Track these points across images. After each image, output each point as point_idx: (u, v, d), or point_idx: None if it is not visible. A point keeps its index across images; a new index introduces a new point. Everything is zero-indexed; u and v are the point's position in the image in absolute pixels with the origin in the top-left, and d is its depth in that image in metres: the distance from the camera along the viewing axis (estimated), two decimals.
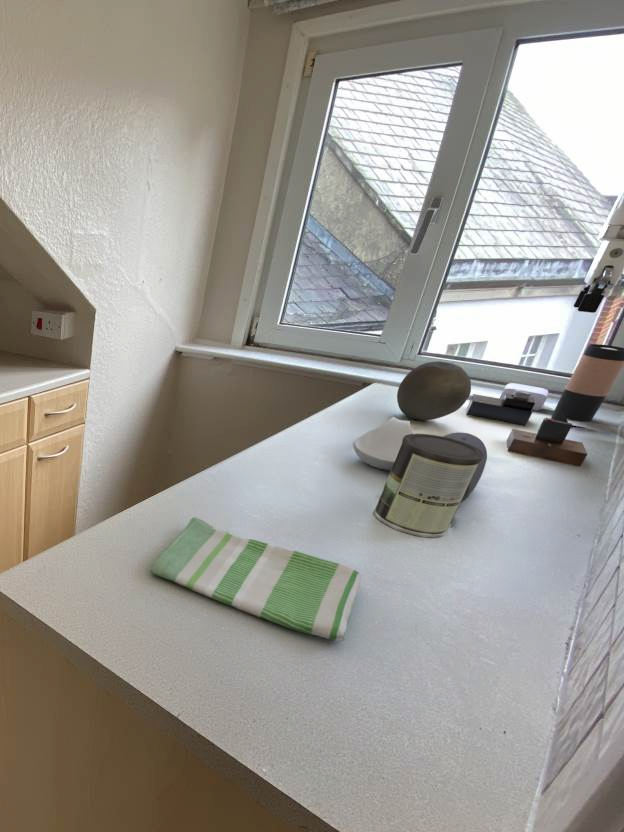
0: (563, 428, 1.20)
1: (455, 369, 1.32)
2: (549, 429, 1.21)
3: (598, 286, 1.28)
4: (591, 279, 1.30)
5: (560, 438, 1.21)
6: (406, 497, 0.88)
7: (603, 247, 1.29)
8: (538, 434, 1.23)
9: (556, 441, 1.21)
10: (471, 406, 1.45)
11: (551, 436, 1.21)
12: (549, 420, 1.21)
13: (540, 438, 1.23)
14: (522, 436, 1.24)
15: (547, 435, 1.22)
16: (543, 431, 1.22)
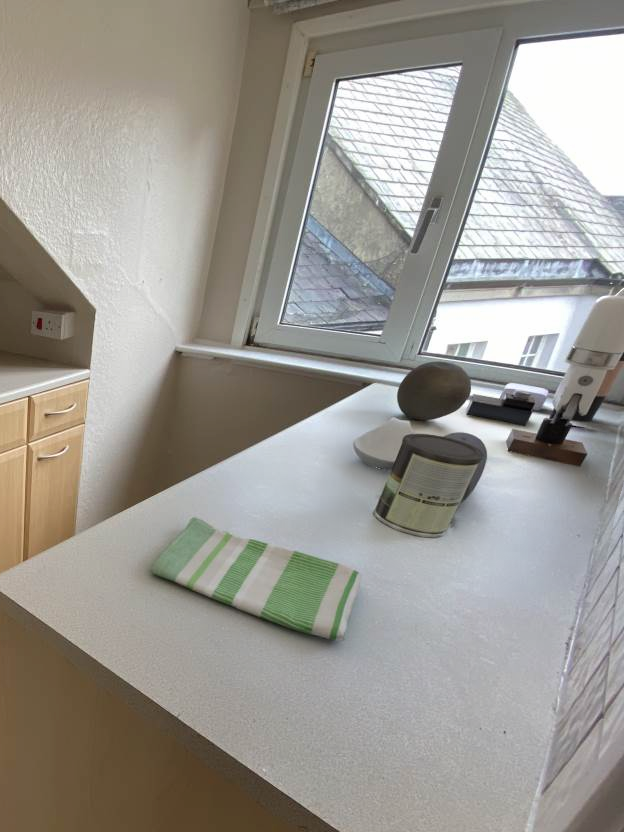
0: None
1: (455, 369, 1.32)
2: None
3: (560, 419, 1.17)
4: (558, 406, 1.16)
5: None
6: (406, 497, 0.88)
7: (571, 372, 1.15)
8: (538, 434, 1.23)
9: None
10: (471, 406, 1.45)
11: None
12: (549, 420, 1.21)
13: None
14: (522, 436, 1.24)
15: None
16: None
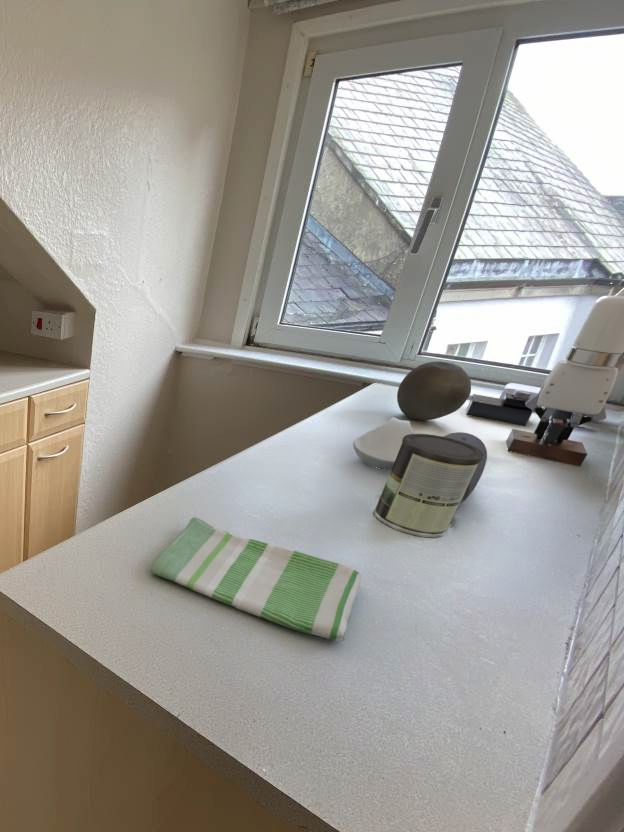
0: None
1: (455, 369, 1.32)
2: None
3: None
4: (599, 410, 1.15)
5: None
6: (406, 497, 0.88)
7: (604, 376, 1.12)
8: (555, 439, 1.20)
9: None
10: (471, 406, 1.45)
11: None
12: None
13: (554, 441, 1.21)
14: (522, 436, 1.24)
15: None
16: (558, 434, 1.20)
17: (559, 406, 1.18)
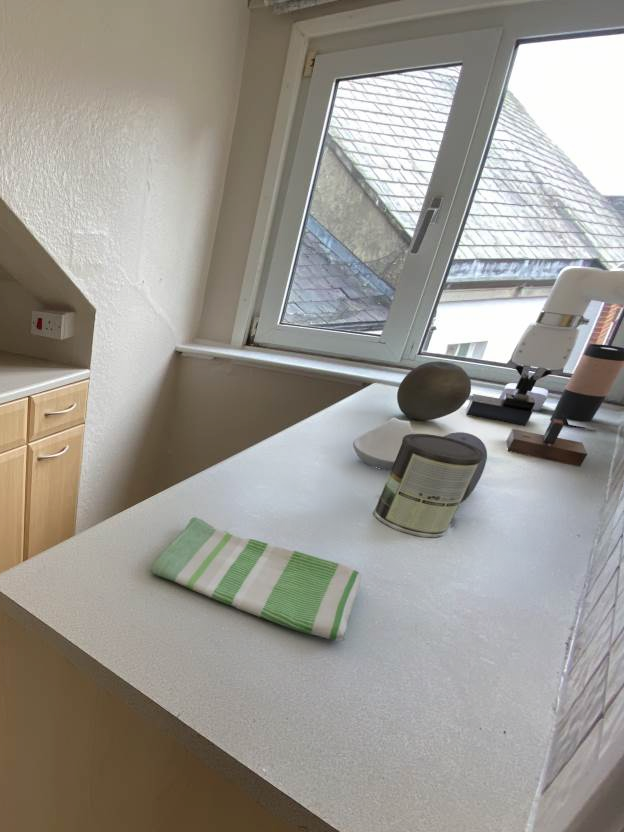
0: None
1: (455, 369, 1.32)
2: None
3: (548, 374, 1.37)
4: (563, 365, 1.34)
5: None
6: (406, 497, 0.88)
7: (567, 335, 1.32)
8: (555, 439, 1.20)
9: None
10: (471, 406, 1.45)
11: None
12: None
13: (554, 441, 1.21)
14: (522, 436, 1.24)
15: None
16: (558, 434, 1.20)
17: (530, 363, 1.37)
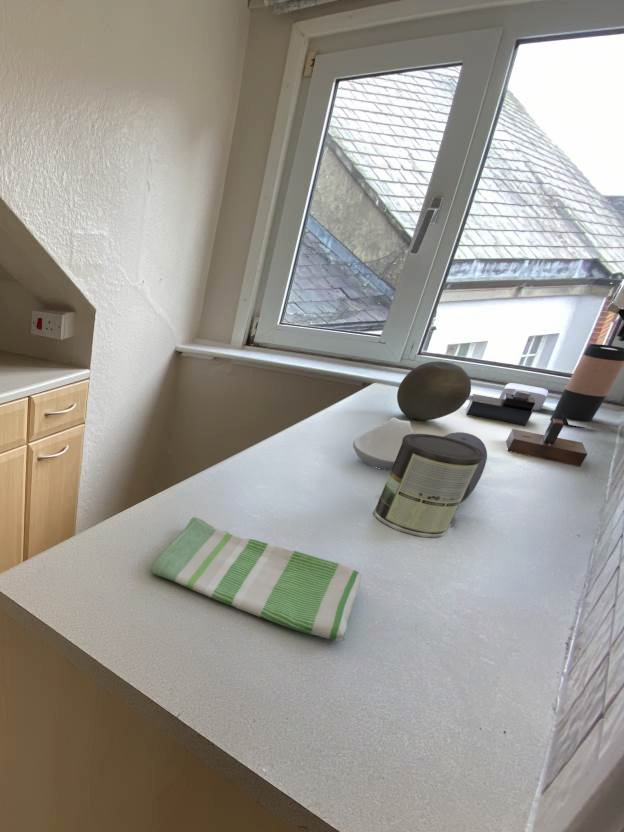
0: None
1: (455, 369, 1.32)
2: None
3: None
4: None
5: None
6: (406, 497, 0.88)
7: None
8: (555, 439, 1.20)
9: None
10: (471, 406, 1.45)
11: None
12: None
13: (554, 441, 1.21)
14: (522, 436, 1.24)
15: None
16: (558, 434, 1.20)
17: None
